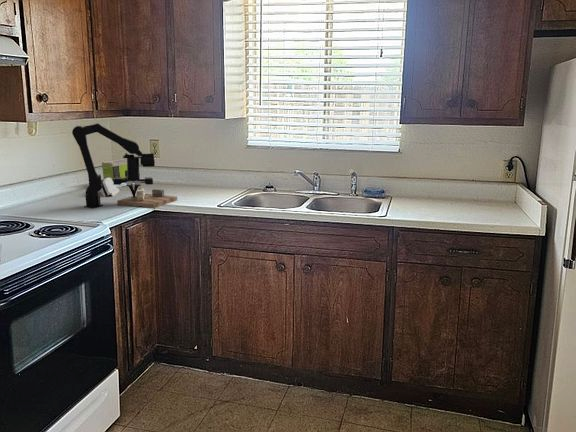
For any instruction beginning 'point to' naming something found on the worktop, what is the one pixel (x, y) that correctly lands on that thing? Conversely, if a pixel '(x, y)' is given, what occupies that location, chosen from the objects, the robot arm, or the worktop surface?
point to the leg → (140, 194)
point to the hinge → (109, 187)
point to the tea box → (115, 170)
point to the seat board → (149, 199)
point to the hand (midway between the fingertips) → (134, 198)
